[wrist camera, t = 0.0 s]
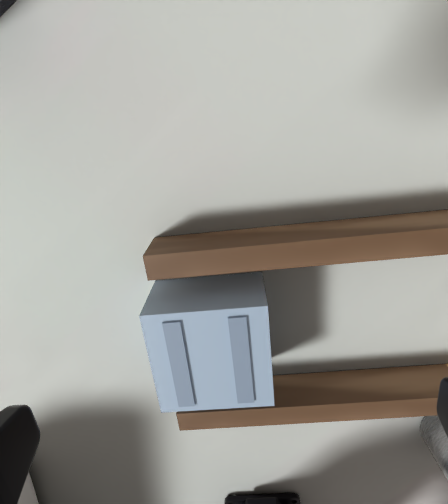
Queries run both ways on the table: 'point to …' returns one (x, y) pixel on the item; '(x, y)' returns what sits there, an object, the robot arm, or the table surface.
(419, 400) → the rack bay
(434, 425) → the winch drum
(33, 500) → the stereo radio cassette player
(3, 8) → the small box
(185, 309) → the crate
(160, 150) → the table surface
